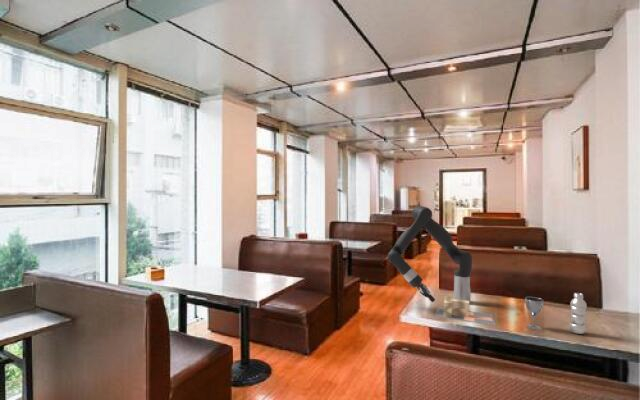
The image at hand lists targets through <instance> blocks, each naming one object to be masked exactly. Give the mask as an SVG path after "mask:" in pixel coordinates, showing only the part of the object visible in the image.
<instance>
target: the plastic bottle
mask: <svg viewBox="0 0 640 400" xmlns="http://www.w3.org/2000/svg"><path fill="white" fill-rule="evenodd" d="M586 310H587V302H586V301H585V300H584V293H581V292H574V293H573V298H572V299H571V300H570V312H571V314H570V315H571V316H570V323H569V326H568V327H569V331H571V332H572V334H573V333H574V334H577V335H584V334H585V333H586V331H587V328H586V322H585V321H586V319H585V318H586Z"/></svg>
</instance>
